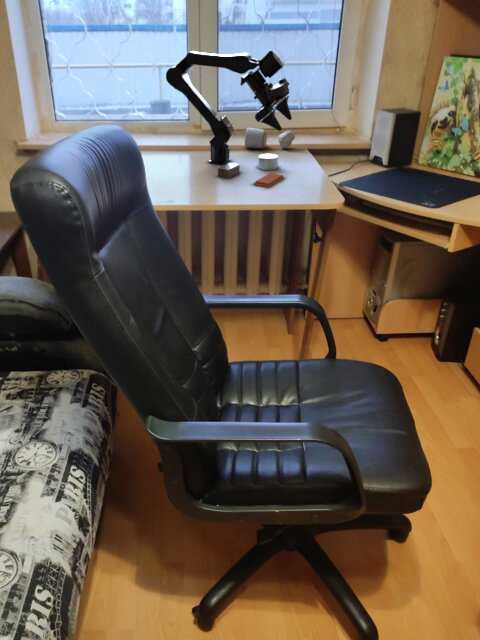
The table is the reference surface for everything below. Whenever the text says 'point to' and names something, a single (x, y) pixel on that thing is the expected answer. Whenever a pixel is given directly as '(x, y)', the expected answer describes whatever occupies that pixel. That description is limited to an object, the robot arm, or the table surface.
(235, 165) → the walnut block
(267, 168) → the silver pot
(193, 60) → the robot arm
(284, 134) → the frog figurine
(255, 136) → the ceramic mug
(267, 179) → the terracotta tray
